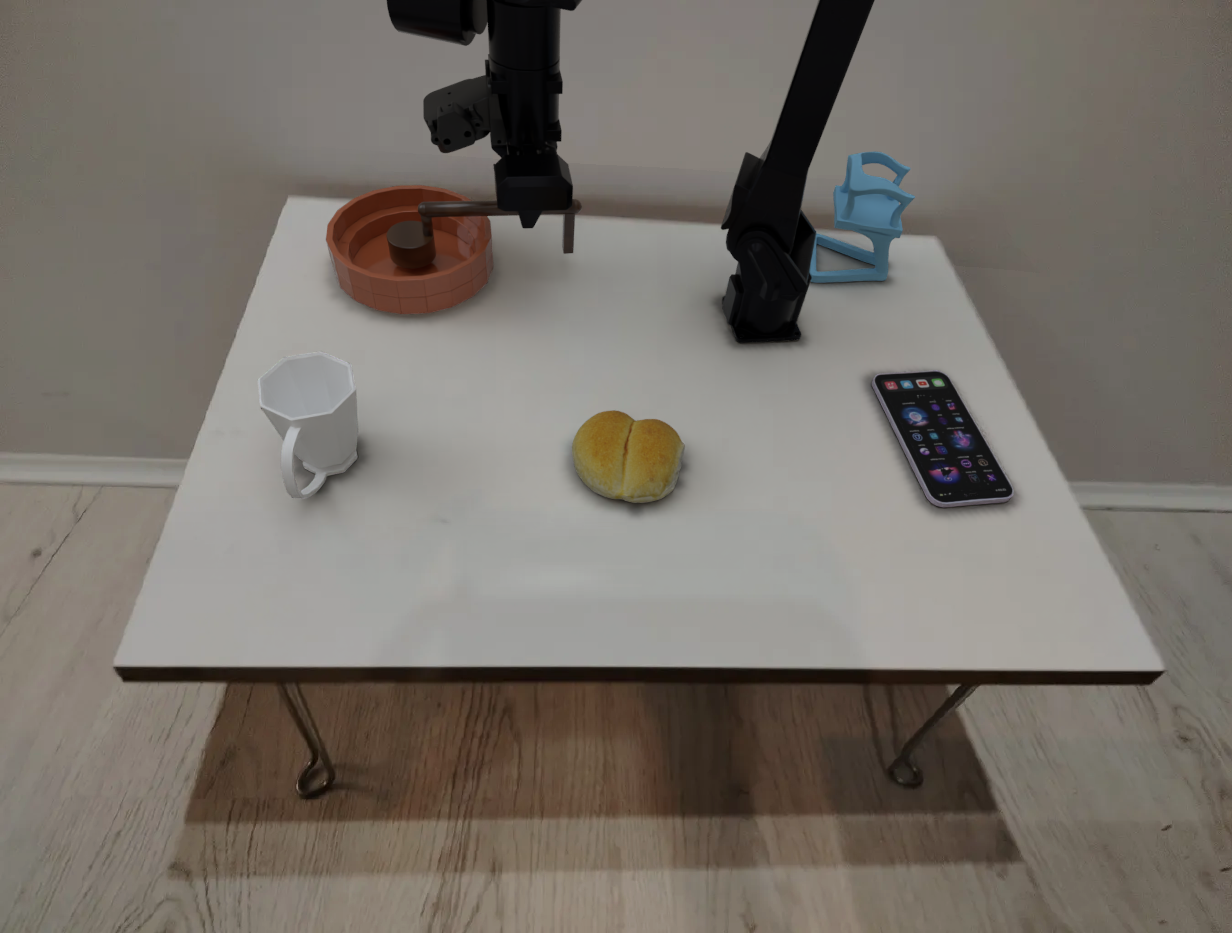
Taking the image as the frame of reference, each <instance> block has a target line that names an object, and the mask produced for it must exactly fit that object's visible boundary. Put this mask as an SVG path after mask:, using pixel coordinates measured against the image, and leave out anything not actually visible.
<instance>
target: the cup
mask: <svg viewBox="0 0 1232 933" xmlns="http://www.w3.org/2000/svg"><path fill="white" fill-rule="evenodd" d="M257 387H258V389H257V390H258V398H259V399H258V401H259V407H260V409H261V410H262V412H263V413H264V415H265V416H266V418H267V419H268V420H269V422H270V423H271V425H272V426H273V427H274V429H275V430H276V432H277V434H278V435H279V436H280V438H281V440H282V441H283V442H282V446H281V451H280V471H281V475H282V481H283V484H284V488H285V491H286V493H287V494H288V495H289V496H290V497H291V498H292V499H309V498H310V497H312V496H313V495H315V494H316V493H317V492H318V491H319V490H320V489H321V488H322V487H323V485H324V484H325V482H326V480H327V477H328V476H333V475H338V474H343V473H345V472H346V471H347V470H348V469H349V468H350V467H351V466H352V465H353V464H354V463H355V461H356V460H358V452H357V445H358V438H359V437H358V436H359V421H358V399H357V397H358V396H357V386H356V382H355V376H354V370H353V365H352V363H351V362H348V361H346V360H343V359H341V358H340V357H337V356H334V355H332V354H330V353H327V352H325V351H323V350H319V351H313V352H307V353H300V354H293V355H287V356H283V357H282V358H280V360H278V361H277V362H275V364H274V365H272V366H271V367H270V368H269V369H268V370H267V371H266V372H264V373H263V374H262V375H261V376H259V378H258V379H257ZM295 457H296V458H298V460H300V461H302V467H303V469H304V470H306V471H308V472H310V473H313V474H315V475H314V478H313V479H312V480H311V482H310V483H309V484H308V485H307V486H305V487H304V488H303V489H301V490H300V489H299V486H298V482H297V478H296V473H295Z"/></svg>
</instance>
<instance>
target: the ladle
mask: <svg viewBox="0 0 1232 933" xmlns="http://www.w3.org/2000/svg"><path fill="white" fill-rule="evenodd" d="M582 208H583V205H582V202H581V201H580V200H579V199H577V198H573V201H572V207H570V208H569V209H567V210H553V211H542V213H541V215H540V216H552V215H554V216H557V215H559V216H560V215H562V242H561V243H562V244H561V246H562V252H563V255H566V254H567V255H568V254H574V252H575V251H574V250H575V248H574V247H575V246H574V245H575V226H576V215H577V214H579V213H580V212H581V211H582ZM418 213H419V214H420V215H421V222H419V221H403V222H399V223H397V224H395V225H393V226H392V227H391V228H390V229H389V230H388V232H387V242H388V248H389V253H390V258H391V260H392V261H393V262H394V263H395V264H396V265H398V266H400V267H403V268H410V269H414V268H421V267H424V266H426V265H428V264H430V263H431V262H432V261H433V260H434V259H435V257H436V248H435V240H434V232H433V224H432V217H473V216H487V217H509V216H510V217H515V216H517V217H518V216H519V214H518V211H510V212H505V211H503V210H501V209H499V208H497V199H496V200H495V199H494V200H493V199H491V200H472V201H437V202H421V203H420V204H419V205H418Z"/></svg>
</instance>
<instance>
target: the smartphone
mask: <svg viewBox="0 0 1232 933" xmlns="http://www.w3.org/2000/svg"><path fill="white" fill-rule="evenodd" d="M871 387H872V389H873V391H874V394H875V395H876V398H877V399H878V402H879V403H880V405H881V407H882V409H883V411H884V412H885V415H886V418H887V420H888V422H889V424H890V426H891V428H892V430H893V432H894V434H895V435H896V438H897V440H898V442H899V444H900V446H901V448H902V450H903V453H904V454H905V456H906V459H907V460H908V463H909V464H910V467H911V469H912V471H913V473H914V475H915V477H916V479H917V480H918V483H919V485H920V487H921V490H922V491H923V493H924V495H925V497H926V499H927V500H928V501H929V503H931V504H933V505H934V506H936V507H939V508H953V507H962V506H972V505H985V504H986V505H987V504H998V503H1006V502H1009V500H1011V498H1012V497H1013V496H1014V494H1015V489H1014V487H1013V485H1012V483H1011V481H1010V479H1009V478H1008V476H1007V473H1005V470H1004V469H1003V468H1002V466H1001V464H1000V462H999V460H998V459H997V457H996V455H995V453H994V452H993V451H992V448H991V447H990V445H989V443H988V441H987V440H986V438H985V436H984V435H983V432H982V431H981V429H980V428H979V426H978V424H977V423H976V421H975V419H974V417H973V415H972V414H971V412H970V411H969V409H968V406H967V405H966V404H965V402H964V400H963V398H962V397H961V395H960V392H958V390H957V388H956V386H955V384H954V383H953V381H952V379H951V378H950V376H949V375H948V374H947V373H945V372H943V371H941V370H937V369H933V370H932V369H931V370H916V371H913V370H912V371H900V372H899V371H898V372H897V371H896V372H883V373H882V372H881V373H880V372H879V373H877V374H875V375H874V376H873V378H872V380H871Z"/></svg>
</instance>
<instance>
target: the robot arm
mask: <svg viewBox="0 0 1232 933" xmlns="http://www.w3.org/2000/svg"><path fill="white" fill-rule="evenodd" d="M582 1H583V0H386V7H387V11H388V12H387V13H388V16H389V20H390V22H391V24H392V26H393V28H394V29H395V30H396V31H398V33H402V34H406V35H410V36H415V37H421V38H425V39H431V40H436V41H440V42H445V43H449V44H454V45H459V46H464V47H467V46H469V45H471V44H472V42H473V41H474V40H475V38H476V35H482V34H483V33H484V32H485V30H486V28H487V40H488V41H487V42H488V54H487V59H484V72H485V73H484V74H483V75H480V76H476V77H474V78H466V79H463V80H460V81H458V82H454V83H452V84H450V85H446V86H444V87H441V88H438V89H436V90H433V91H432V92H431V91H430V93H427V95H425V97H424V98H423V99H422V100H423V102H422V104H423V105H422V108H423V109H422V110H423V111H422V112H423V114H422V115H423V120H424V123H425V124H426V127H427V128H428V130H429V132H430V142H431V143H432V145H434V146H437V149H438V150H439V152H440V153H442V154H450V153H454V152H456V151H459V150H462V149H464V148H465V149H466V148H467V147H470V146H473V145H475V143H476V142H477V141H480V140H483V139H485V138H486V137H487V136H489V139H490V147H491V149H492V151H493V152H494V153H495V154H497V156H499V157H500V159H499V160H498V161H496V163H493V165H492V166H493V172H494V173H493V174H494V176H493V177H494V188H495V198H496V200H497V208H499V209H501V210H503V211H505V212H510V211H518V214H519V215H518V217H519V221H520V225H521V228H522V229H527V230H528V229H534V228H535V226H536V224H537V222H538V220H539V219H540V217H541V216H542V215H541V213H542V211H553V210H567V209H569V208H570V207H572V201H573V199H574V197H573V196H574V185H573V180H572V175H571V171H570V165H569V164H568V163H567V161H566V160H564V159H563V158H562V157H561V156H560V155H559V154H558V151H557V150H558V142H560V143H561V142H562V133H563V132H562V126H561V122H560V95H563V90H564V89H563V88H564V87H563V86H564V80H563V76H562V72H561V67H560V66H561V19H562V18H561V12H562V10H564V11H568V12H574V11H575V10H576V9H577V8H578V6H579V5H580V4H581V3H582ZM874 4H875V0H817V3H816V6H815V9H814V13H813V16H812V18H811V21H810V24H809V27H808V30H807V32H806V36H805V39H804V42H803V45H802V48H801V51H800V53H799V56H798V59H797V63H796V66H795V68H794V71H793V74H792V77H791V80H790V83H789V86H788V89H787V92H786V95H785V98H784V100H783V104H782V107H781V109H780V113H779V116H778V118H777V122H776V124H775V127H774V130H773V134H772V136H771V139H770V141H769V143H768V144H767V146H766V147H765V149H764V151H763V152H762V154H761V155H760V157H758V156H756V155H754V154H752V153H750V152H748V151H745V153H744V155H743V157H742V158H743V159H742V162H741V165H740V168H739V170H738V174H737V176H736V180H735V183H734V186H733V188H732V192H731V195H730V198H729V201H728V205H727V208H726V210H725V213H724V216H723V218H722V222H721V225H720V229H721V230H722V231H726V230H727V233H726V238H725V246H726V250H727V252H729V254H730V255H731V257H732V258H733V259H734V260H735V261H736V262H737V265H736V269H735V273H733V274H730V275H729V276H728V282H727V285H726V288H725V289H726V290H725V294H724V296H722V298H721V305H722V307H721V309H722V312H723V314H724V318H725V320H726V323H727V325H728V326H729V327H730V329H731V331H732V334H733V337H734V340H735V341H736V342H737V343H739V344H748V343H749V344H750V343H751V344H752V343H770V342H789V341H791V342H793V341H799V340H800V339H801V337H802V331H801V329H800V327H799V325H798V320H799V316H800V314H801V311H802V308H803V305H804V302H805V299H806V297H807V293H808V290H809V287H810V285H811V283H812V282H811V279H812V277H811V275H810V273H809V270H810V265H811V260H812V254H813V249H814V244H815V238H816V233H817V230H816V229H815V228H814V226H813V225H812V223H811V222H810V220H809V218H808V217H807V216H806V214H805V213H804V211H803V209H802V206H803V200H804V195H805V190H806V185H807V180H808V174H809V169H810V166H811V164H812V162H813V159H814V156H815V154H816V151H817V148H818V146H819V144H820V141H821V139H822V136H823V134H824V131H825V128H826V126H827V123H828V120H829V119H830V116H831V113H832V110H833V108H834V105H835V103H836V101H837V97H838V96H839V93H840V90H841V87H842V85H843V82H844V79H845V77H846V74H847V72H848V70H849V67H850V64H851V62H852V60H853V57H854V54H855V51H856V49H857V47H858V45H859V41H860V39H861V37H862V34H863V31H864V29H865V26H866V24H867V21H868V20H869V17H870V14H871V11H872V8H873V6H874Z"/></svg>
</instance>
